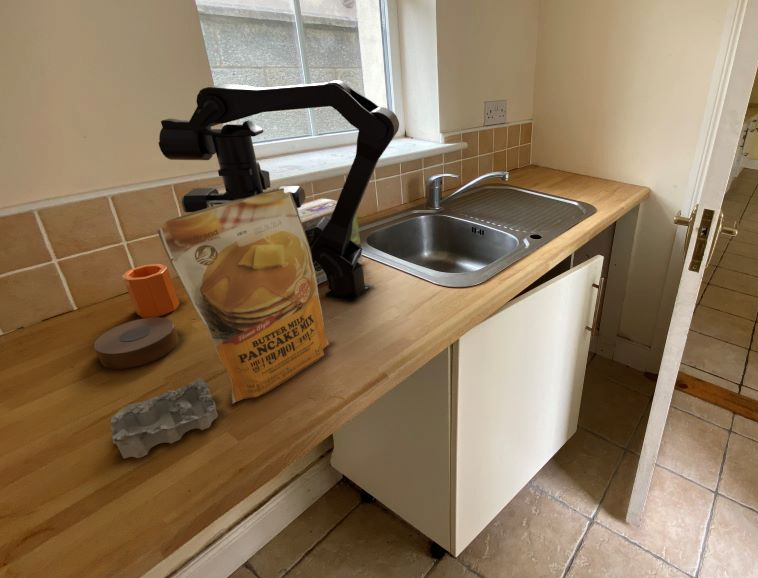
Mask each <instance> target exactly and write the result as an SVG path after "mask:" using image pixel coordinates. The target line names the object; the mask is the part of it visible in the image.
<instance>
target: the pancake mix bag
mask: <svg viewBox="0 0 758 578" xmlns="http://www.w3.org/2000/svg"><path fill="white" fill-rule="evenodd" d="M264 192H265V193H261V194H258V195H255V196H252V197H248V198H244V199H240V200H235V201H231V202H226V203H223V204H219V205H216V206H213V207H209V208H206V209H203V210H199V211H196V212H188V213H186V214H184V215H180V216H178V217H175V218H171V219H168V220H166V221H165V222H164V223H163V225H161V227H160V228H158V230H157V231H156V232H157V234H158V237H159V239H160V242H161V244H162V247H163V249H164V251H165V254H166V255H167V258H168V260H169V262H170V264H171V267H172V268H173V270H174V272H175V273H176V274H177V275H178V278H179V279H180V281H181V283H182V286H183V288H184V290H185V292H186V294H187V296H188V297H187V298H188V299H189V301H190V303H191V305H192V307H193V308H194V310H195V312H196V313H197V315H198V317H199V319H200V320H201V321H202V323H203V324H204V326H205V328H206V329H207V330H208V332H209V335H210V337H211V340H212V343H213V346H214V349H215V351H216V354H217V357H218V358H219V360H220V361H221V363H222V364H223V366H224V368H225V370H226V372H227V375H228V377H229V380H230V385H231V404H236V403H237V402H239V401H242V400H244V399H257V398H258V397H260V396H262V395H265V394H267V393H269V392H270V391H272V390H273V389H275V388H276V387H279V386H280V385H281V384H283V383H285V382H286V381H288V380H289V379H291V378H293V377H294V376H295V375H297V374H298V373H300V372H301V371H303V370H305V369H306V368H308V367H309V366H311V365H313V364H315V363H316V362H317V361H319V360H320V359H321V358H323V357H325V353H324V350H325V349H326V348H327V347H328V346H329V345H330V342H329V340H328V338H327V336H326V333H325V323H324V317H323V308H322V306H321V301H320V295H319V288H318V287H319V286H318V285H317V281H316V275H315V268H314V265H313V262H312V256H311V250H310V247H309V243H308V240H307V237H306V234H305V231H304V228H303V225H302V222H301V220H300V217H299V213H298V209H297V206H296V204H295V201H294V199H293V196H292V194H291V192H287V193H284V188H283V189H279V188H277V189H276V188H275V189H272V190H269V191H264Z"/></svg>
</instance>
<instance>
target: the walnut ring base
mask: <svg viewBox="0 0 758 578" xmlns="http://www.w3.org/2000/svg"><path fill="white" fill-rule="evenodd" d="M179 340H180V339H179V335H178V333H177V330H176V327H175V325H174V322H173V321H172V320H171V319H170V318H166V317H161V316H159V317H149V318H139V319H135V320H130V321H128V322H125V323H122V324H119V325H117V326H115V327H112V328H111V329H109V330H107V331H105V332H104V333H103V334H101V335H100V336H99V337H98V338H97V339H96V340H95V342H94V345H93V348H94V351H95V352H96V355H97V357H98V359H99V361H100V363H101V364H102V366H103V367H105V368H107V369H112V370H125V369H132V368H136V367H140V366H144V365H147V364H150V363H152V362H154V361H156V360H157V361H158V360H159V359H161V358H163V357H165V356H166V355H168V354H169V353H170V352H172V351H173V350H174V349H175V348H176V347H177V345H178V343H179Z"/></svg>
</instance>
